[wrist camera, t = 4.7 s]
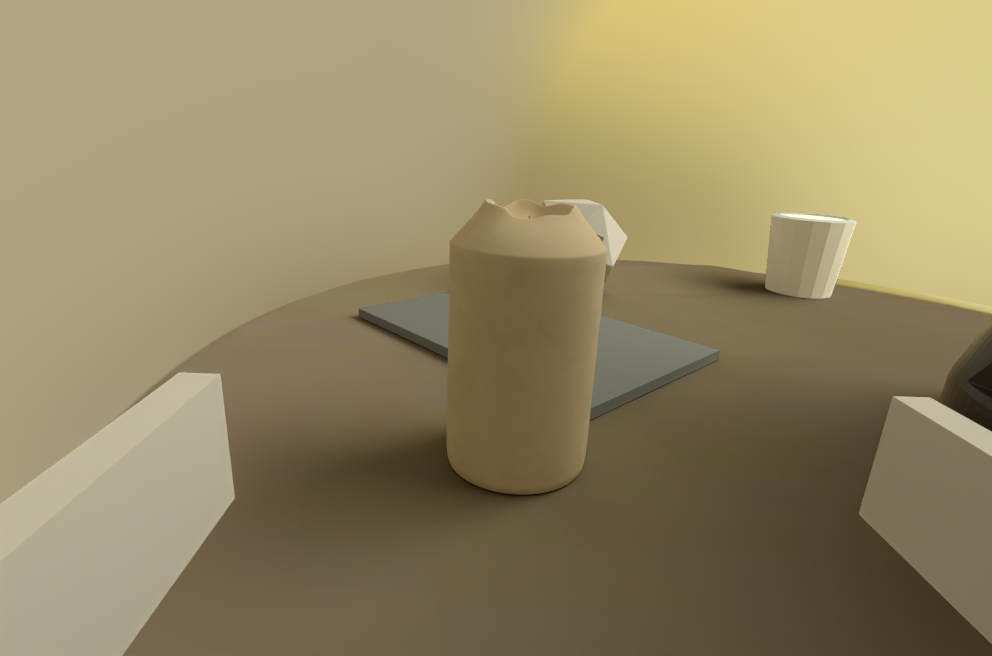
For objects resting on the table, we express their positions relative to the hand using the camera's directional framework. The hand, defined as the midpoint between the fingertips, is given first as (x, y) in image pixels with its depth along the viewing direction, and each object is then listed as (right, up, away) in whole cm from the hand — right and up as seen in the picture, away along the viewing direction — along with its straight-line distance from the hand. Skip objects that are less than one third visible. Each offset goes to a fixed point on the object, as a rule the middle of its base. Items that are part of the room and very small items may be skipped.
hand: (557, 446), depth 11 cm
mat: (+1, +2, +25) cm, 25 cm away
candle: (0, -3, +11) cm, 12 cm away
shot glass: (+27, +6, +42) cm, 50 cm away
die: (+5, +6, +39) cm, 39 cm away
